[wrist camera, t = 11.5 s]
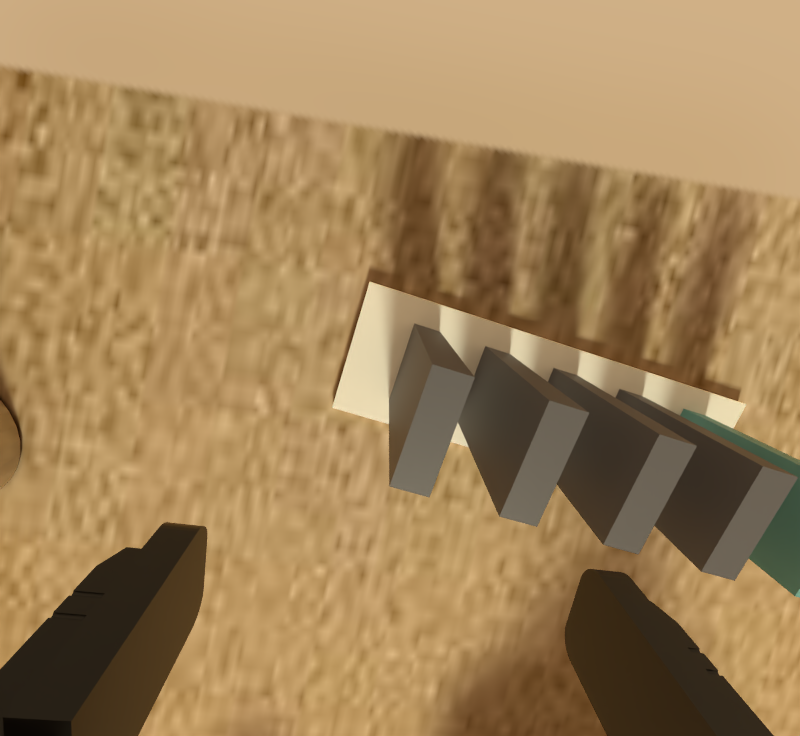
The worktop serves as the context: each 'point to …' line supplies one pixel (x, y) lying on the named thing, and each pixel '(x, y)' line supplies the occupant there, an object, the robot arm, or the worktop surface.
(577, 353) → the strip
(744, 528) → the domino
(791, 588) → the domino
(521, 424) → the domino
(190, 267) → the worktop surface
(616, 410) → the domino
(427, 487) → the domino
